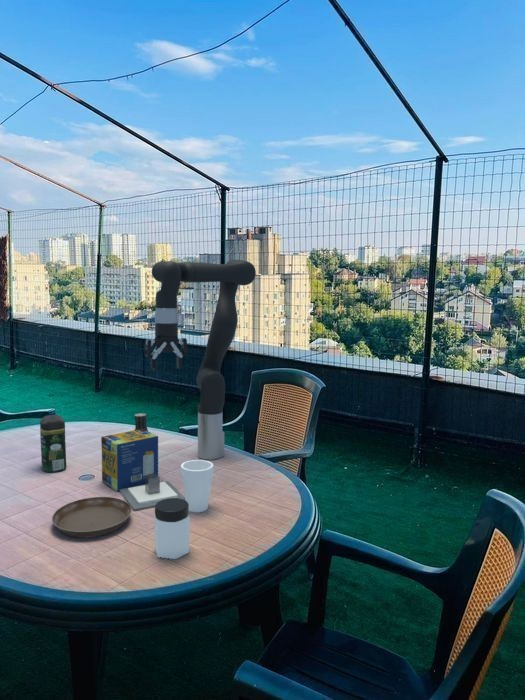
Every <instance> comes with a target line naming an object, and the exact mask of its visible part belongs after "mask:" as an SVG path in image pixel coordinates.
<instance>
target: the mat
mask: <svg viewBox="0 0 525 700" xmlns="http://www.w3.org/2000/svg"><path fill="white" fill-rule="evenodd" d="M164 482H165V483H166V484H167V485H168V486H169V487H170V488H171V489H172V490H173V491H174V492H175V493H176V494H177V495H178V498H179V499H183V500H185V496H184V494H182V493H181V492H180V491H179V490H178V489H177V488H176V487H175V486H174V485H173V484H172V483H171V481H169V480H165V481H164ZM143 485H144V484H143ZM143 485H141V486H143ZM135 487H137V486H135ZM119 490H120V491H119V492H120V494H121V495H122V496H123V498H124V499H125V502H127V503H128V504H129V505H130V506H131V509H132V510H133V512H137V511H142V510H146V509H151V508H155V505H156V503H157V502H153V503H148V504H143V505H138V503H137V502H136V501H135V499H134V498H133V497H132V495H131V494H130V493H129V492H128V488H125V489H119ZM158 502H159V501H158Z"/></svg>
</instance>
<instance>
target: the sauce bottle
mask: <svg viewBox="0 0 525 700" xmlns="http://www.w3.org/2000/svg"><path fill="white" fill-rule="evenodd" d="M147 416H148V415H147V414H146V413H144V412H143V413H135V414H134V420H135V425H134V426H135V427H134V430H137V429H144V430H146V431H148V432H149V430H148V425H147Z"/></svg>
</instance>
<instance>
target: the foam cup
mask: <svg viewBox="0 0 525 700" xmlns="http://www.w3.org/2000/svg"><path fill="white" fill-rule="evenodd" d="M214 466H215V465H214V463H213V462H211V461H209V460H206V459H193V460H187V461H184V462H182V464H180V475H181V478H182V479H181V480H182V487H183V496H184V497H185V501H187V502H188V504H189V513H201V512H205V511H207V510H208V508H209V503H210V501H209V500H210V495H211V488H212V481H213V475H214Z"/></svg>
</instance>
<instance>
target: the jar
mask: <svg viewBox="0 0 525 700" xmlns="http://www.w3.org/2000/svg"><path fill="white" fill-rule="evenodd" d="M189 513H190V511H189V504H188V502H187V501H185V500H183V499H179V498H168V499H164V500H161V501H159V502H157V503H156V505H155V507H154V550H155V554H156V556H157V557H156V558H160V557H161V558H162V559H168V558H169V560H176V559H179V558H181V557H183V556H185V555H186V554H189V553H190V533H191V532H190V522H191V521H190V514H189ZM161 558H160V559H161Z"/></svg>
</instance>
